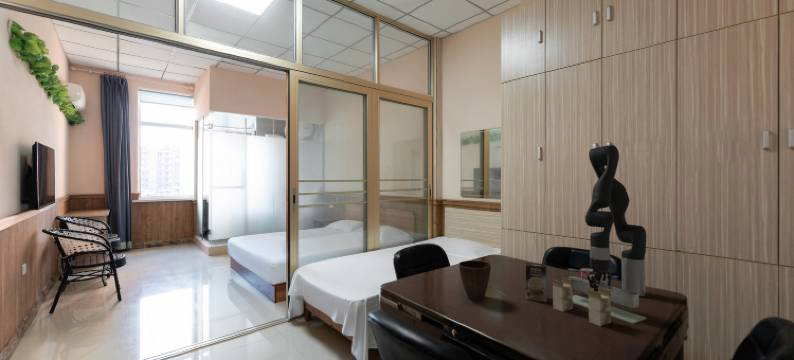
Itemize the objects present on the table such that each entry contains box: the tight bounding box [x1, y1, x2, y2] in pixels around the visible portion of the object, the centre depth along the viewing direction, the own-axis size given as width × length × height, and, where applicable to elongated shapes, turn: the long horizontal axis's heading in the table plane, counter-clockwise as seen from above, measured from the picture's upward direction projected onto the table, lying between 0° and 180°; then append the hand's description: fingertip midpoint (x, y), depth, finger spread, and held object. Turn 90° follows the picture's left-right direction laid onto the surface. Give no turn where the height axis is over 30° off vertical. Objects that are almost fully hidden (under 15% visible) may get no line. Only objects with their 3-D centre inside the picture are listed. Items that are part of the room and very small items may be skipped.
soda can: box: [578, 267, 593, 297], centre depth 160 cm, size 7×7×12 cm
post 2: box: [587, 288, 612, 327], centre depth 129 cm, size 7×4×12 cm, turn 117°
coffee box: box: [525, 262, 548, 303], centre depth 156 cm, size 9×6×16 cm
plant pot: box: [458, 260, 492, 301], centre depth 158 cm, size 15×15×16 cm
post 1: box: [552, 277, 574, 313], centre depth 143 cm, size 7×4×12 cm, turn 117°
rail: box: [567, 275, 640, 309], centre depth 143 cm, size 4×28×5 cm, turn 27°
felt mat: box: [573, 294, 647, 324], centre depth 143 cm, size 9×30×1 cm, turn 27°
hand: (600, 296), depth 143 cm, fingers closed on rail, 4 cm apart
